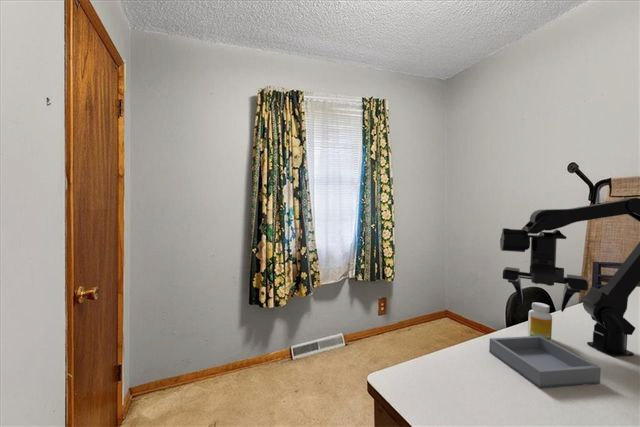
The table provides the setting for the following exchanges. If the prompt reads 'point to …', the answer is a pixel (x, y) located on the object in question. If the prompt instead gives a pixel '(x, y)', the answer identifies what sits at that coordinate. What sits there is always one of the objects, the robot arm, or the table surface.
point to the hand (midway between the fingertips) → (541, 307)
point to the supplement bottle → (540, 321)
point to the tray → (544, 362)
